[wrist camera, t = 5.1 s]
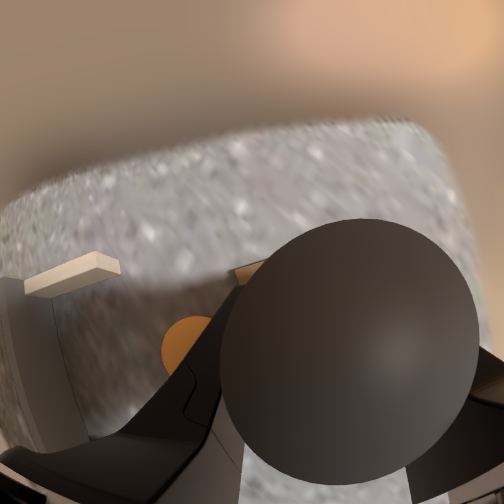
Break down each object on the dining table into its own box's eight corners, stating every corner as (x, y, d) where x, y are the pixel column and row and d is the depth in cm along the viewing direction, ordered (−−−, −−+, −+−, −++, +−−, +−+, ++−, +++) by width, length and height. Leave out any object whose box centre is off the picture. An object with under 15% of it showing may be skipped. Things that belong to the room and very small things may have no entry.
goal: (176, 456, 15) (149, 493, 10) (89, 457, 15) (52, 481, 10) (118, 260, 18) (75, 243, 13) (41, 288, 18) (-3, 280, 13)
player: (337, 354, 15) (489, 446, 3) (276, 374, 15) (279, 538, 3) (311, 272, 16) (414, 149, 4) (251, 291, 16) (172, 216, 4)
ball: (248, 371, 16) (240, 388, 12) (186, 385, 16) (163, 403, 12) (229, 307, 17) (215, 306, 13) (168, 324, 17) (140, 326, 13)
